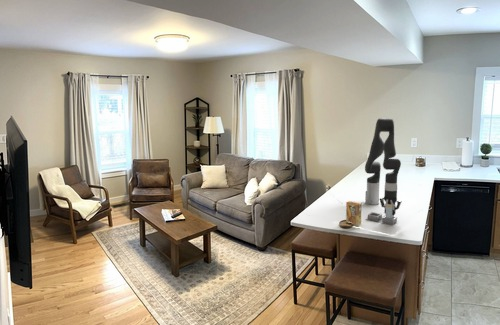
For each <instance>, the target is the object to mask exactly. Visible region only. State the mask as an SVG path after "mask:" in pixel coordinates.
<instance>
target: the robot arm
mask: <svg viewBox="0 0 500 325" xmlns="http://www.w3.org/2000/svg"><path fill="white" fill-rule="evenodd" d="M374 128H375V129H374V134H373V139H372V142H371V146H370V150H369V152H368V157H367V160H366V161H365V167H364V171H365V173H366V174H368V175H369V174H372V176H370V177H369V176H368V177H367V179H366V191H365V201H364V202H365V204H367V205H372V206H373V205H374V206H375V205H379V203H380V205H381V207H382V208H384V214H385V215H386V204H391V205H392V207H393V210H392V215H393V216H394V217H395V215H396V210H397V211H398V210H399V209H400V206H401V205H402V202H403V201H402V200H399V199H398V174H399V171H400V168H401V165H402V162H401V159H399V158H395V157H396V155H397V152H396V144H395V122H394V119H393V118H389V117H388V118H387V117H386V118H385V117H384V118H382V117H380V118H378V119H377V120H376V123H375V127H374ZM382 132H383V133H384V132H385V133H388V135H387V138H386V139H385V141H384V139H383V137H382V136H381V133H382ZM382 155H384V157H383V162H382V167H383V169H384V170H387V171H390V170H391V172H387V173H386V174H385V178H384V194H383V195H384V196H383V197H380V180H381V171H382V170H381V162H380V161H376V160H377V159H379V157H381V156H382Z"/></svg>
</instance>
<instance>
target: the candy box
mask: <svg viewBox="0 0 500 325" xmlns="http://www.w3.org/2000/svg"><path fill="white" fill-rule="evenodd" d="M345 203H346V204H345V206H346V209H345V211H346V212H345V213H346V218H345V222H346V221H350V222H352V223H353V224H352V225H354V226H356V227H358V228H359V226H361V225H362V203H361V202H358V201H352V200H348V201H346V202H345Z"/></svg>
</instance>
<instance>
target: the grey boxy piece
mask: <svg viewBox="0 0 500 325" xmlns="http://www.w3.org/2000/svg"><path fill="white" fill-rule="evenodd" d="M385 217H386V215H384V216H383V214H382V213H377V212H373V211H372V212H370V213H368V214H367V218H366V219H365V221H369V222H373V223H378V224H382V225H388V226H394V225H395V224H396V223H399V220H398V217H397V216H394V219H388V218H385Z"/></svg>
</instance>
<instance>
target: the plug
mask: <svg viewBox="0 0 500 325" xmlns="http://www.w3.org/2000/svg"><path fill="white" fill-rule="evenodd" d="M392 210H393V207H392V205H391V204H386V214H385V216H386V217H385V218H388V219H394V217H395V215H394V216H393V215H392Z"/></svg>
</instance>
